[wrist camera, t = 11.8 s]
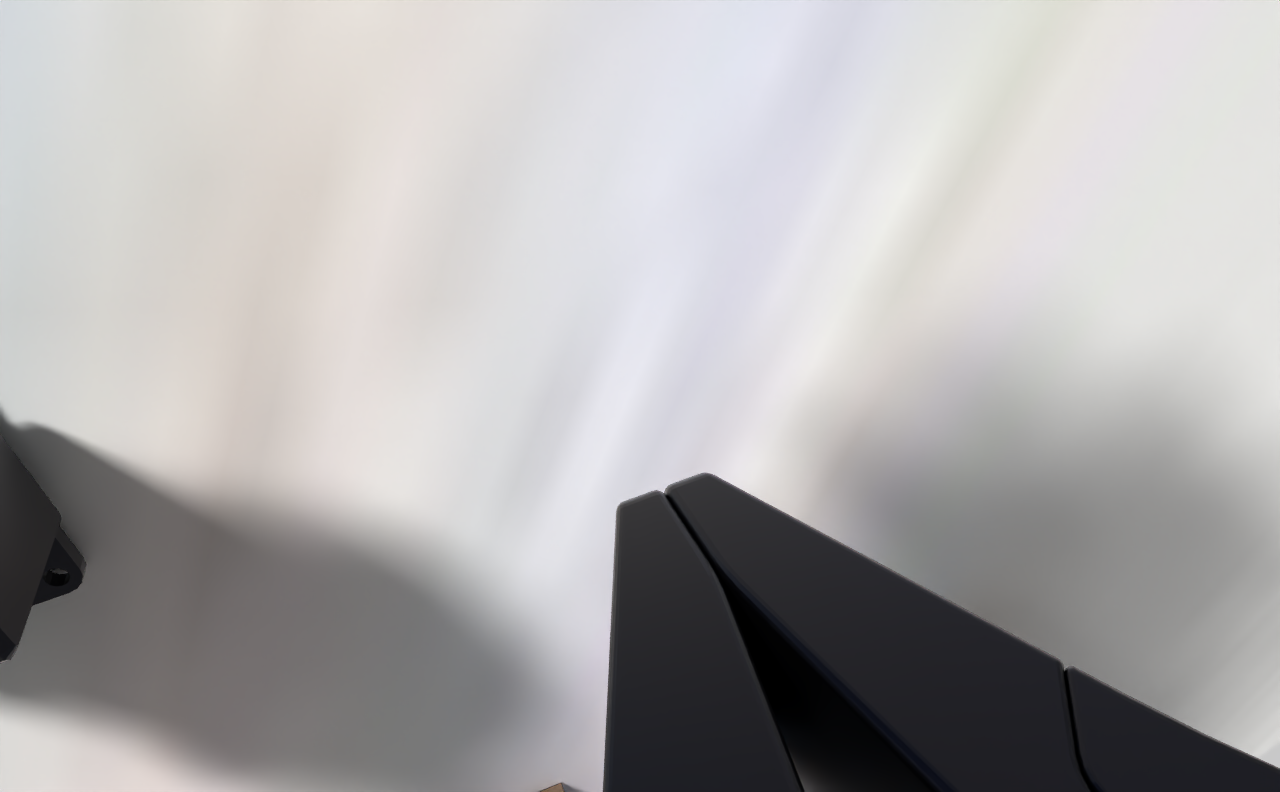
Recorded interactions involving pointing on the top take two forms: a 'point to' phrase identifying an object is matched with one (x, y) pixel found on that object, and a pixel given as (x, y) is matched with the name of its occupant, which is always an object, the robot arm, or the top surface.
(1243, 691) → the top surface
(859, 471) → the top surface
